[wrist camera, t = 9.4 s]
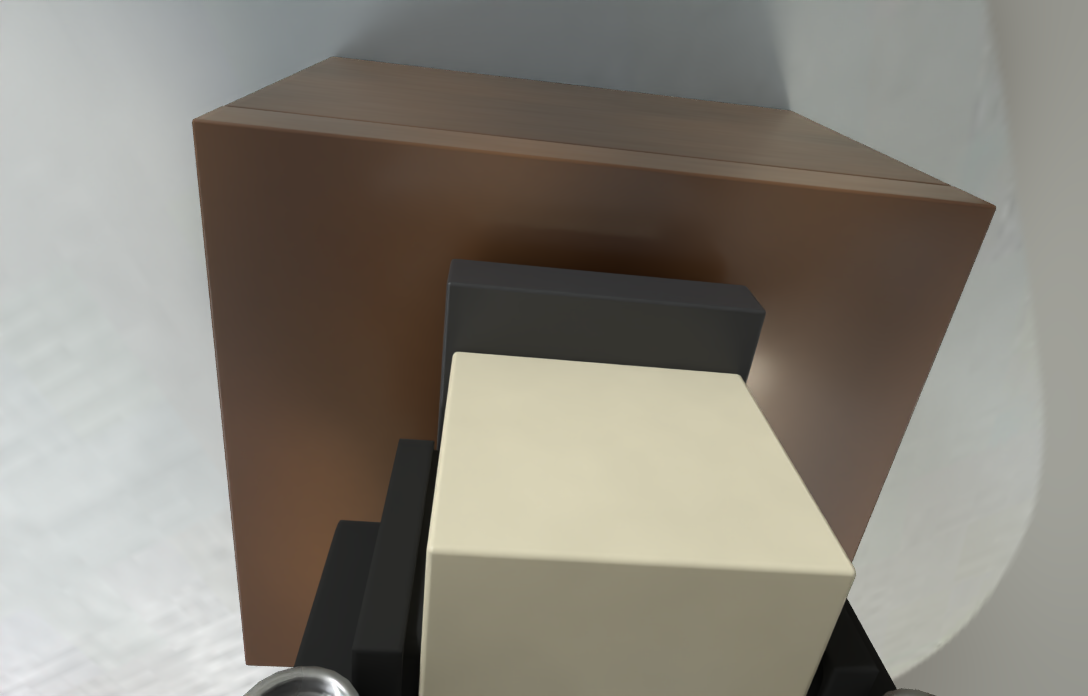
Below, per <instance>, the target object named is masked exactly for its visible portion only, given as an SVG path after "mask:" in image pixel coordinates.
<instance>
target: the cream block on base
mask: <svg viewBox="0 0 1088 696" xmlns="http://www.w3.org/2000/svg"><path fill="white" fill-rule="evenodd" d="M765 315H766V311H765V309H764V308H763V307H762V306H761V304H760V303H759V302H758V300H757V299H756V298H755V297H754V295H753V294H752V293H751V292H750V290H749V289H748V288H747V287H746V286H744V285H733V284H722V283H711V282H701V281H690V280H679V279H668V278H658V277H647V276H636V275H625V274H614V273H604V272H593V271H582V270H571V269H560V268H550V267H539V266H528V265H517V264H506V263H496V262H485V261H474V260H463V259H452V261H451V264H450V269H449V274H448V280H447V286H446V302H445V319H444V335H443V352H442V368H441V385H440V402H439V418H438V435H437V450H440V454H439V461H438V469H437V476H436V484H435V491H434V499H433V506H432V514H431V521H430V528H429V536H428V543H427V552H426V570H425V587H424V605H423V622H422V640H421V657H420V675H419V692H418V696H806V694H807V692H808V689H809V687H810V685H811V682H812V680H813V677H814V675H815V673H816V670H817V668H818V665H819V663H820V661H821V658H822V656H823V653H824V651H825V649H826V646H827V644H828V641H829V639H830V637H831V634H832V632H833V629H834V627H835V625H836V622H837V620H838V617H839V615H840V613H841V610H842V608H843V605H844V603H845V601H846V598H847V596H848V593H849V591H850V588H851V586H852V584H853V581H854V579H855V576H856V571H855V568H854V566H853V564H852V563H851V561H850V559H849V558H848V556H847V554H846V553H845V551H844V549H843V548H842V546H841V544H840V542H839V541H838V539H837V537H836V536H835V534H834V532H833V531H832V529H831V527H830V526H829V524H828V522H827V521H826V519H825V517H824V516H823V514H822V512H821V510H820V509H819V507H818V505H817V504H816V502H815V500H814V499H813V497H812V495H811V494H810V492H809V490H808V489H807V487H806V485H805V483H804V482H803V480H802V478H801V477H800V475H799V473H798V472H797V470H796V468H795V467H794V465H793V463H792V462H791V460H790V458H789V457H788V455H787V453H786V451H785V450H784V448H783V446H782V445H781V443H780V441H779V440H778V438H777V436H776V435H775V433H774V431H773V430H772V428H771V426H770V424H769V423H768V421H767V419H766V418H765V416H764V414H763V413H762V411H761V409H760V408H759V406H758V404H757V403H756V401H755V399H754V398H753V396H752V394H751V392H750V391H749V389H748V387H747V386H746V383H747V379H748V376H749V372H750V369H751V365H752V362H753V358H754V354H755V351H756V347H757V344H758V340H759V337H760V333H761V329H762V326H763V322H764V319H765Z"/></svg>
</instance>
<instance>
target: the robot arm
mask: <svg viewBox="0 0 1088 696" xmlns="http://www.w3.org/2000/svg"><path fill="white" fill-rule="evenodd" d="M434 443H435V442H434V441H431V440H416V439H401V438H400V439H399V442H398V446H397V451H396V455H395V460H394V464H393V469H392V473H391V478H390V482H389V486H388V491H387V495H386V500H385V504H384V509H383V513H382V517H381V522H368V521H351V520H340V521H339V522H338V524H337V527H336V529H335V532H334V536H333V539H332V542H331V546H330V549H329V552H328V555H327V559H326V562H325V565H324V569H323V572H322V575H321V579H320V582H319V585H318V588H317V592H316V595H315V598H314V602H313V605H312V608H311V611H310V615H309V618H308V621H307V625H306V628H305V631H304V634H303V638H302V641H301V644H300V648H299V651H298V654H297V657H296V661H295V664H294V667H293V668H290V669H287V670H283V671H279V672H277V673H275V674H273V675H271V676H269V677H267V678H265V679H263V680H261V681H260V682H258V683H257V684H256V685H255V686H254V687H253V688H252V689H250V690H249V691H248V692H247V693H246V694H245V695H244V696H418V692H419V675H420V657H421V640H422V622H423V605H424V587H425V570H426V552H427V543H428V536H429V528H430V521H431V514H432V506H433V499H434V491H435V484H436V476H437V469H438V461H439V454H440V450H434ZM806 696H935V695H932V694H929V693H926V692H923V691H920V690H913V689H902V688H901V689H896V687H895V685H894V683H893V681H892V679H891V678H890V676H889V674H888V672H887V670H886V669H885V667H884V665H883V663H882V661H881V659H880V658H879V656H878V654H877V652H876V650H875V649H874V647H873V645H872V643H871V641H870V639H869V638H868V636H867V634H866V632H865V630H864V629H863V627H862V625H861V623H860V621H859V620H858V618H857V616H856V614H855V612H854V610H853V609H852V607H851V605H850V603H849V601H848V600H847V598H846V601H845V603H844V605H843V608H842V610H841V613H840V615H839V617H838V620H837V622H836V625H835V627H834V629H833V632H832V634H831V637H830V639H829V641H828V644H827V646H826V649H825V651H824V653H823V656H822V658H821V661H820V663H819V665H818V668H817V670H816V673H815V675H814V677H813V680H812V682H811V685H810V687H809V689H808V692H807V694H806Z"/></svg>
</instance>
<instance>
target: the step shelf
mask: <svg viewBox="0 0 1088 696" xmlns="http://www.w3.org/2000/svg"><path fill="white" fill-rule="evenodd" d="M192 126H193V136H194V146H195V157H196V167H197V177H198V187H199V197H200V207H201V217H202V227H203V237H204V247H205V257H206V268H207V278H208V288H209V298H210V308H211V318H212V328H213V338H214V348H215V358H216V368H217V378H218V389H219V399H220V409H221V419H222V429H223V439H224V449H225V459H226V469H227V479H228V489H229V500H230V510H231V520H232V530H233V540H234V550H235V560H236V570H237V580H238V590H239V600H240V611H241V621H242V631H243V641H244V651H245V661H246V665H251V666H276V667H294V664H295V661H296V657H297V654H298V651H299V648H300V644H301V641H302V638H303V634H304V631H305V628H306V625H307V621H308V618H309V615H310V611H311V608H312V605H313V602H314V598H315V595H316V592H317V588H318V585H319V582H320V579H321V575H322V572H323V569H324V565H325V562H326V559H327V555H328V552H329V549H330V546H331V542H332V539H333V536H334V532H335V529H336V527H337V524H338V522H339V521H340V520H351V521H368V522H381V517H382V513H383V509H384V504H385V500H386V495H387V491H388V486H389V482H390V478H391V473H392V469H393V464H394V460H395V455H396V451H397V446H398V442H399V439H400V438H401V439H416V440H431V441H434V442H435V443H434V450H437V435H438V418H439V402H440V385H441V368H442V352H443V335H444V319H445V302H446V286H447V280H448V274H449V269H450V264H451V261H452V259H463V260H474V261H485V262H496V263H506V264H517V265H528V266H539V267H550V268H560V269H571V270H582V271H593V272H604V273H614V274H625V275H636V276H647V277H658V278H668V279H679V280H690V281H701V282H711V283H722V284H733V285H744V286H746V287H747V288H748V289H749V290H750V292H751V293H752V294H753V295H754V297H755V298H756V299H757V300H758V302H759V303H760V304H761V306H762V307H763V308H764V309H765V311H766V315H765V319H764V322H763V326H762V329H761V333H760V337H759V340H758V344H757V347H756V351H755V354H754V358H753V362H752V365H751V369H750V372H749V376H748V379H747V383H746V386H747V387H748V389H749V391H750V392H751V394H752V396H753V398H754V399H755V401H756V403H757V404H758V406H759V408H760V409H761V411H762V413H763V414H764V416H765V418H766V419H767V421H768V423H769V424H770V426H771V428H772V430H773V431H774V433H775V435H776V436H777V438H778V440H779V441H780V443H781V445H782V446H783V448H784V450H785V451H786V453H787V455H788V457H789V458H790V460H791V462H792V463H793V465H794V467H795V468H796V470H797V472H798V473H799V475H800V477H801V478H802V480H803V482H804V483H805V485H806V487H807V489H808V490H809V492H810V494H811V495H812V497H813V499H814V500H815V502H816V504H817V505H818V507H819V509H820V510H821V512H822V514H823V516H824V517H825V519H826V521H827V522H828V524H829V526H830V527H831V529H832V531H833V532H834V534H835V536H836V537H837V539H838V541H839V542H840V544H841V546H842V548H843V549H844V551H845V553H846V554H847V556H848V558H849V559H850V561H851V563H852V561H853V559H854V556H855V554H856V551H857V549H858V546H859V544H860V541H861V539H862V536H863V534H864V532H865V529H866V527H867V524H868V522H869V519H870V517H871V514H872V512H873V510H874V507H875V505H876V502H877V500H878V497H879V495H880V492H881V490H882V487H883V485H884V483H885V480H886V478H887V475H888V473H889V470H890V468H891V465H892V463H893V460H894V458H895V456H896V453H897V451H898V448H899V446H900V443H901V441H902V438H903V436H904V434H905V431H906V429H907V426H908V424H909V421H910V419H911V416H912V414H913V411H914V409H915V407H916V404H917V402H918V399H919V397H920V394H921V392H922V389H923V387H924V385H925V382H926V380H927V377H928V375H929V372H930V370H931V367H932V365H933V362H934V360H935V358H936V355H937V353H938V350H939V348H940V345H941V343H942V340H943V338H944V335H945V333H946V331H947V328H948V326H949V323H950V321H951V318H952V316H953V313H954V311H955V309H956V306H957V304H958V301H959V299H960V296H961V294H962V291H963V289H964V286H965V284H966V282H967V279H968V277H969V274H970V272H971V269H972V267H973V264H974V262H975V259H976V257H977V255H978V252H979V250H980V247H981V245H982V242H983V240H984V237H985V235H986V233H987V230H988V228H989V225H990V223H991V220H992V218H993V215H994V213H995V210H996V206H994V205H993V204H991V203H988V202H986V201H984V200H982V199H980V198H978V197H976V196H973V195H971V194H969V193H967V192H965V191H963V190H961V189H958V188H956V187H953V186H950V185H949V184H947V183H945V182H942V181H940V180H938V179H936V178H934V177H932V176H930V175H927V174H925V173H923V172H921V171H919V170H917V169H915V168H913V167H910V166H908V165H906V164H904V163H902V162H900V161H898V160H895V159H893V158H891V157H889V156H887V155H885V154H883V153H880V152H878V151H876V150H874V149H872V148H870V147H868V146H865V145H863V144H861V143H859V142H857V141H855V140H853V139H851V138H848V137H846V136H844V135H842V134H840V133H838V132H836V131H833V130H831V129H829V128H827V127H825V126H823V125H821V124H818V123H816V122H814V121H812V120H810V119H808V118H806V117H804V116H801V115H799V114H797V113H795V112H793V111H790V110H781V109H773V108H764V107H756V106H748V105H739V104H731V103H722V102H714V101H705V100H697V99H688V98H680V97H671V96H663V95H655V94H646V93H638V92H629V91H621V90H612V89H604V88H595V87H587V86H578V85H570V84H561V83H553V82H545V81H536V80H528V79H519V78H511V77H502V76H494V75H485V74H477V73H468V72H460V71H452V70H443V69H435V68H426V67H418V66H409V65H401V64H392V63H384V62H375V61H367V60H359V59H350V58H342V57H330V58H328V59H326V60H323V61H321V62H319V63H317V64H315V65H312V66H310V67H308V68H306V69H304V70H301V71H299V72H297V73H295V74H293V75H291V76H288V77H286V78H284V79H282V80H280V81H277V82H275V83H273V84H271V85H269V86H267V87H264V88H262V89H260V90H258V91H256V92H253V93H251V94H249V95H247V96H245V97H243V98H240V99H238V100H236V101H234V102H232V103H229V104H227V105H225V106H222V107H219V108H217V109H215V110H212V111H210V112H208V113H206V114H204V115H201V116H199V117H197V118H195V119H193V121H192Z"/></svg>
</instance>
